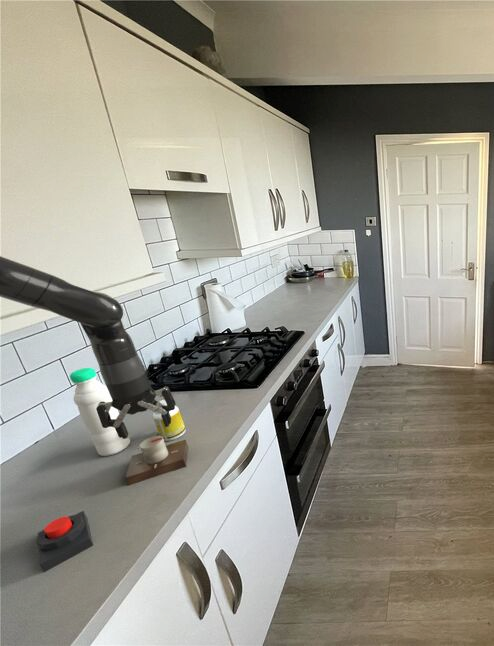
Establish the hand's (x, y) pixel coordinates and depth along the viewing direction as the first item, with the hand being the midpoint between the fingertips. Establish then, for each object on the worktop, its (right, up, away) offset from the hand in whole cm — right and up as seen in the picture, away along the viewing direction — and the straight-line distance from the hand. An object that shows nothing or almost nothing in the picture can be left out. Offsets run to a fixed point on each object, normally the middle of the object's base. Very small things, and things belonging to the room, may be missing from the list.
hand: (147, 430), depth 88 cm
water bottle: (-18, -8, +11) cm, 22 cm away
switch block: (-3, -18, -16) cm, 25 cm away
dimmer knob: (0, -8, +3) cm, 8 cm away
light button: (-3, -15, -18) cm, 23 cm away
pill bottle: (-5, -6, +16) cm, 17 cm away
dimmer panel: (0, -10, +4) cm, 11 cm away
